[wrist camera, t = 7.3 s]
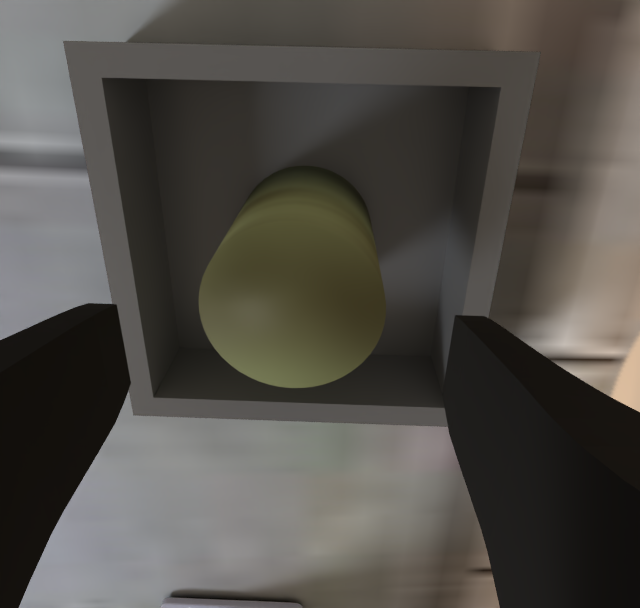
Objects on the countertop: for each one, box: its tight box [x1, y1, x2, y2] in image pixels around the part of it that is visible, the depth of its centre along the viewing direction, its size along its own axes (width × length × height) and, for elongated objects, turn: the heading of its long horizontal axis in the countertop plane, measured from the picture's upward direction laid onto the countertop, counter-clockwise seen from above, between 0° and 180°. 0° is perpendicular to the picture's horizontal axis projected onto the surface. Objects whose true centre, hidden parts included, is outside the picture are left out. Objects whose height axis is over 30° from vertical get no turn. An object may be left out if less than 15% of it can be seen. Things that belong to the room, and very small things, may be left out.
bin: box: [63, 41, 541, 427], centre depth 17 cm, size 12×12×4 cm
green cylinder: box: [199, 166, 386, 388], centre depth 15 cm, size 5×5×6 cm
